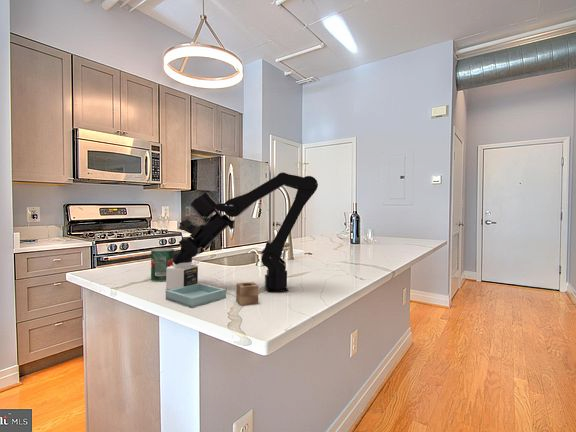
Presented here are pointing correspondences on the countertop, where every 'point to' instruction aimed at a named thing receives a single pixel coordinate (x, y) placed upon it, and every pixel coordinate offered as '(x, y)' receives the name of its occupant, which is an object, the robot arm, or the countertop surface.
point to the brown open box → (247, 293)
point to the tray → (195, 295)
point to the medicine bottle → (181, 274)
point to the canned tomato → (160, 263)
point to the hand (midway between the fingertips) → (178, 261)
